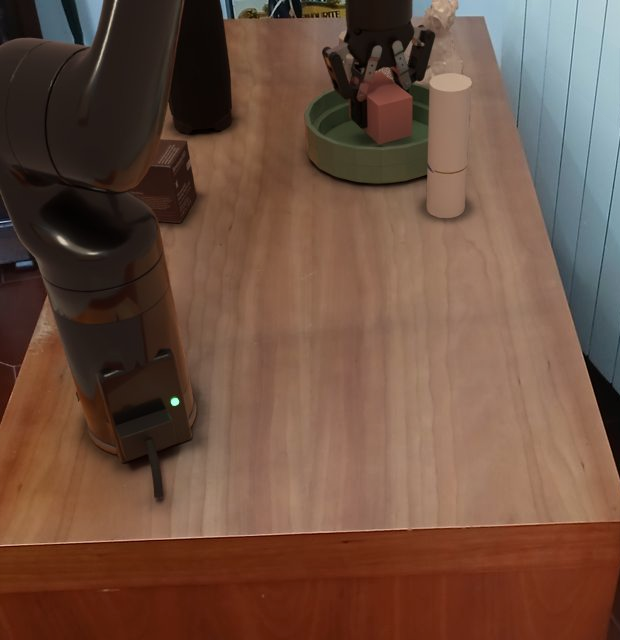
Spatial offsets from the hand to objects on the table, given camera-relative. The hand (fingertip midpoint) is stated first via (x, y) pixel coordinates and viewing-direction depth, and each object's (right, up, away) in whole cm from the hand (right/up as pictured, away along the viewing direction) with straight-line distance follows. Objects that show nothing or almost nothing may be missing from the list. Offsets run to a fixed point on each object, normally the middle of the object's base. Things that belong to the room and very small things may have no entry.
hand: (380, 120), depth 112 cm
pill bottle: (-3, +7, +14) cm, 16 cm away
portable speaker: (-23, +2, +10) cm, 25 cm away
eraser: (0, -1, +1) cm, 1 cm away
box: (-25, -12, -6) cm, 28 cm away
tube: (+7, -12, -8) cm, 16 cm away
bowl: (0, -3, +3) cm, 4 cm away
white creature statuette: (+8, +9, +16) cm, 20 cm away
